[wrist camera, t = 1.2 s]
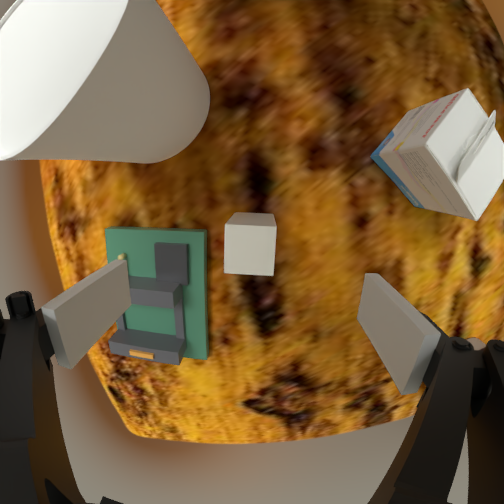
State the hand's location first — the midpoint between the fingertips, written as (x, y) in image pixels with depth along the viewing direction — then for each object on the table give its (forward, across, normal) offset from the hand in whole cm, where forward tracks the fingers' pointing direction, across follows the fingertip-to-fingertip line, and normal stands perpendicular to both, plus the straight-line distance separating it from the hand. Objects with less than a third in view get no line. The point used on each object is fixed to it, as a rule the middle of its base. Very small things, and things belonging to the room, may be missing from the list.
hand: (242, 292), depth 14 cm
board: (+16, -11, -8) cm, 21 cm away
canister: (+16, -12, +14) cm, 25 cm away
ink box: (+16, +18, +10) cm, 26 cm away
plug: (+16, 0, 0) cm, 16 cm away
